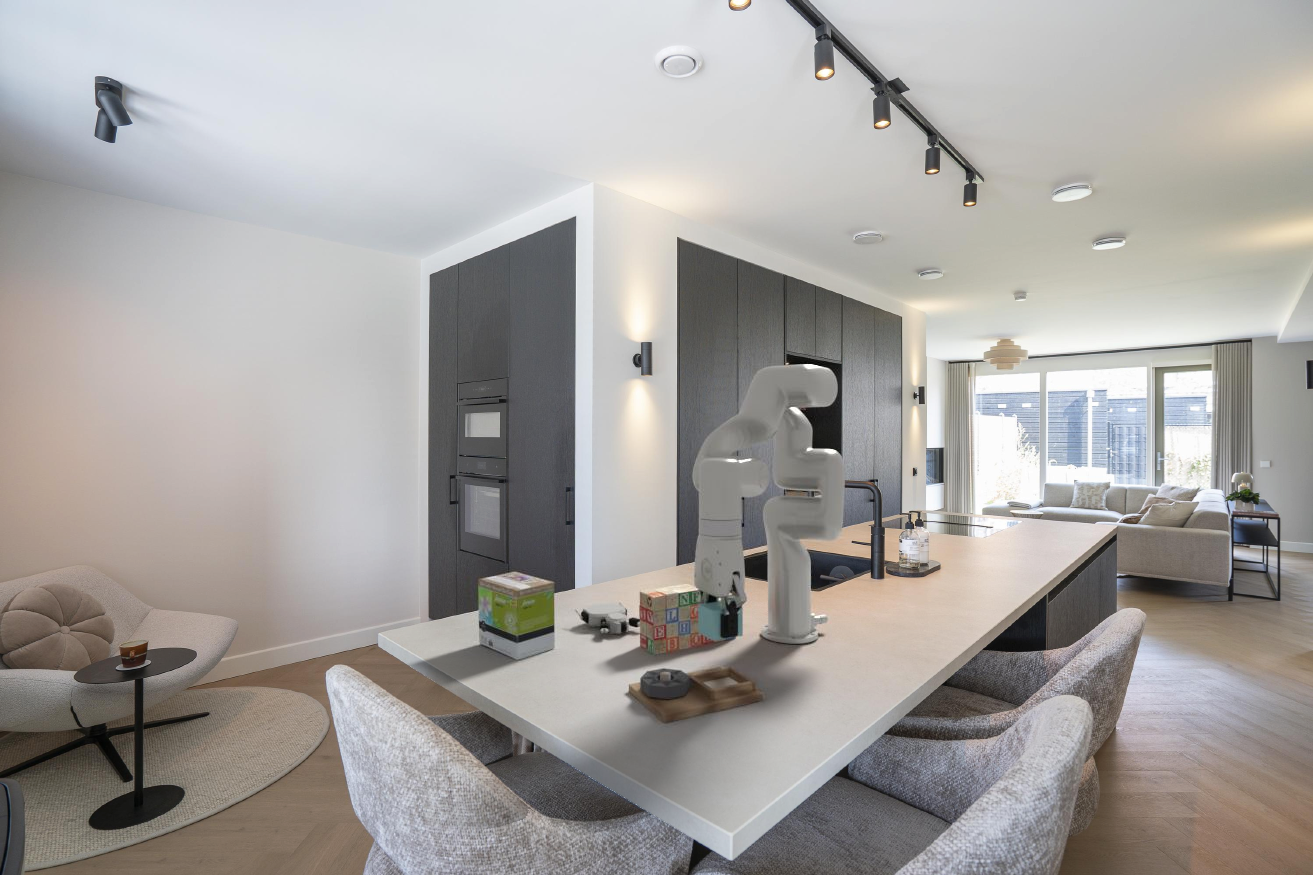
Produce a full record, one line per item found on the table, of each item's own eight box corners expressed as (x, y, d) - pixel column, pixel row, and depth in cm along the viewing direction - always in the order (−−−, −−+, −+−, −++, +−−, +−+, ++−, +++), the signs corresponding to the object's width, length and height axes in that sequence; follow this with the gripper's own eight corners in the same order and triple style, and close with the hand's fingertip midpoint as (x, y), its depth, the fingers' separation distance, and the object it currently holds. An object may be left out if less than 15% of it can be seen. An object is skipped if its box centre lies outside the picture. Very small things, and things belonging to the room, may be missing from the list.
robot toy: (648, 636, 147) (618, 615, 160) (648, 617, 147) (618, 598, 159) (600, 645, 141) (573, 623, 153) (600, 625, 140) (573, 605, 153)
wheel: (674, 676, 115) (674, 665, 115) (697, 692, 108) (696, 681, 108) (634, 684, 112) (634, 673, 112) (654, 701, 104) (654, 689, 104)
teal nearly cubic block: (727, 628, 115) (726, 600, 115) (742, 635, 110) (742, 606, 110) (698, 632, 112) (698, 604, 112) (713, 640, 107) (713, 611, 108)
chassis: (719, 672, 121) (719, 650, 121) (763, 699, 109) (763, 675, 109) (628, 691, 113) (628, 667, 113) (664, 722, 100) (664, 696, 100)
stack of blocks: (720, 631, 147) (720, 578, 147) (736, 638, 142) (736, 583, 142) (639, 646, 137) (638, 589, 137) (653, 655, 131) (653, 596, 131)
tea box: (476, 645, 138) (476, 577, 138) (515, 634, 146) (515, 570, 146) (517, 661, 128) (516, 588, 128) (556, 649, 136) (556, 580, 136)
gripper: (678, 524, 117) (678, 622, 117) (728, 536, 102) (728, 649, 102) (713, 521, 121) (713, 617, 120) (766, 533, 105) (767, 643, 105)
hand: (720, 631), depth 111 cm, fingers closed on teal nearly cubic block, 5 cm apart
